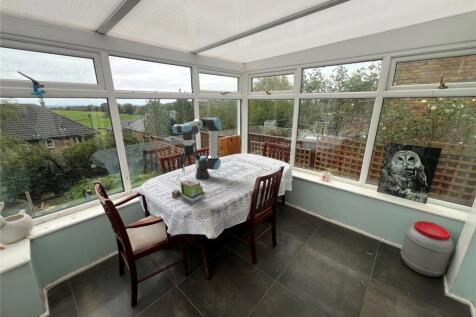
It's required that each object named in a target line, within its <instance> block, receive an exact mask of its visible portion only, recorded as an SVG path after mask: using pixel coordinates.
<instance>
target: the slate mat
mask: <svg viewBox="0 0 476 317" xmlns="http://www.w3.org/2000/svg"><path fill="white" fill-rule="evenodd" d="M205 198H206V196H205V195H203V194H201V198H200V199H198V200H196V201H194V202H191V201H189V200H187V199H186V198H184V197H181V198H180V201H182V202H184V203H186V204H187V205H189V206H192V205H194V204H195V203H198V202H200V201H202V200H204V199H205Z"/></svg>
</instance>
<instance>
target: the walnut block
mask: <svg viewBox="0 0 476 317" xmlns="http://www.w3.org/2000/svg"><path fill="white" fill-rule="evenodd" d="M180 191H181V190H180V189H174V190H173V191H171V197H172V198H176V199H178V198H180V196H181V195H180Z"/></svg>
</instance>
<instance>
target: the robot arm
mask: <svg viewBox="0 0 476 317" xmlns="http://www.w3.org/2000/svg"><path fill="white" fill-rule="evenodd" d="M201 129H203V130H207V132H208V133H209V134H208V136H209V137H208V142H209V143H208V145H209V146H208V148H209V149H208V150H209V151H208V156H207V155H200V154H199V151H198V148H196V147H195V148H194V139H193V136H195V135H198V134H199V133H200V131H201ZM221 129H222V121H221V119H220V117H215V116H214V117H212V116H210V117H209V116H208V117H207V116H204V117H200V118H196V119H194V120H192V121H189V122H185V123H181V124H174V125H173V126H172V132H173V133H174V134H177V135H178V134H179V135H181V134H182V141H183V142H182V144H183V150H184V151H181V152H180V156H179V159H178V162H177V164H178V165H179V166H180V169H181V172H182V173H185V172H186V171H185V170H186V169H185V162H186V160H187V158H188V157H190V156H193V158H194V159H195V168H196V172H195V174H194V175H195V179H197V180H206V179H209V178H210V173H209V170H214V171H216V170H219V169H220V167H221V163H222V160H221V159H220V157H219V156H218V155H219V154H218V146H219V145H218V142H219V141H218V140H219V139H218V137H219V134H218V133H219V132H220V130H221Z"/></svg>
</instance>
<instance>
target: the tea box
mask: <svg viewBox="0 0 476 317" xmlns="http://www.w3.org/2000/svg"><path fill="white" fill-rule="evenodd" d="M200 185H201V182H200V181H197V180H194V179H192V178H187V179H184V180H182V181H180V189H181V190H180V191H182V196H181V198H183V197H184V198H186V199H187V200H189V201H191V202H194V201H196V200H198V199H200V198H201V195H202V193H201V188H200Z"/></svg>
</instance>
